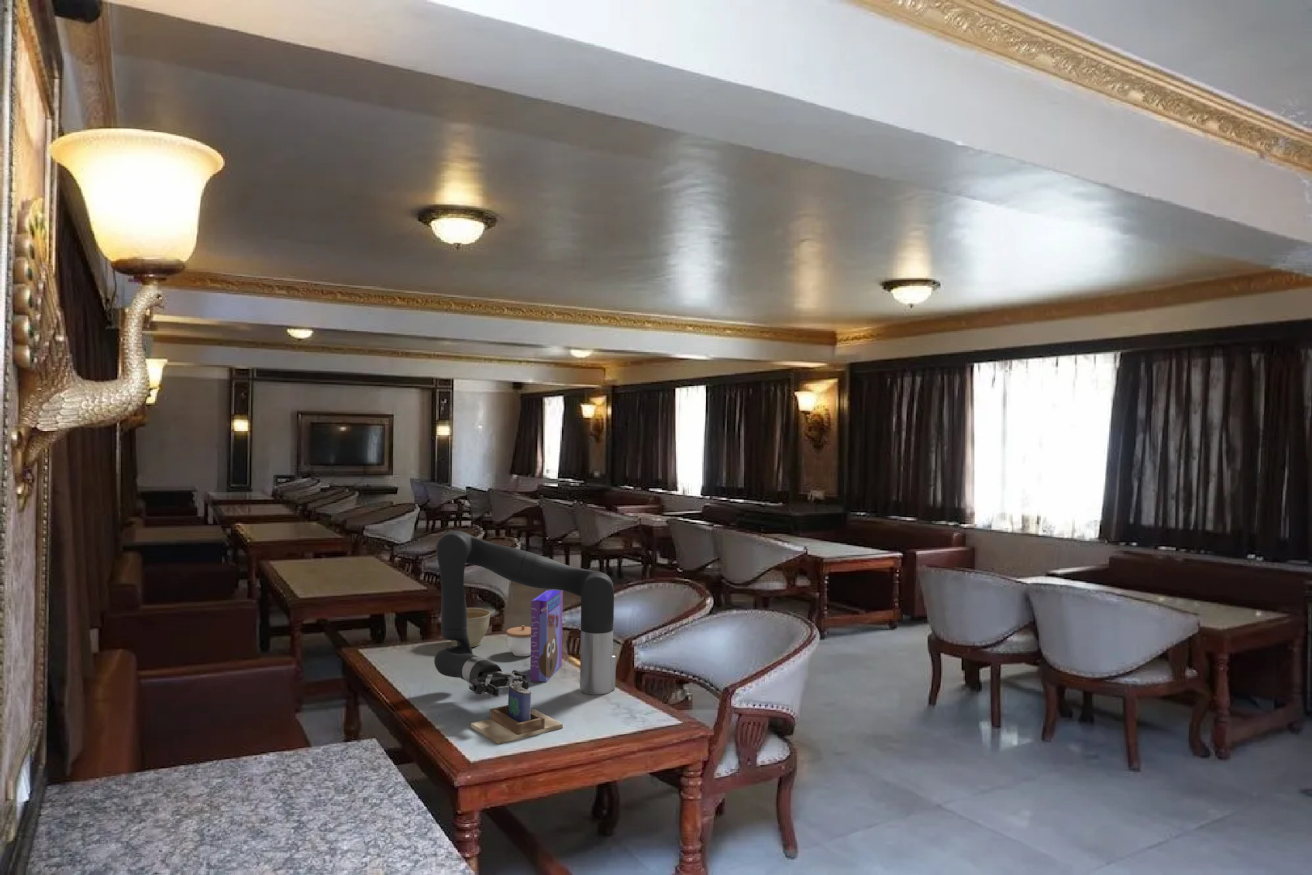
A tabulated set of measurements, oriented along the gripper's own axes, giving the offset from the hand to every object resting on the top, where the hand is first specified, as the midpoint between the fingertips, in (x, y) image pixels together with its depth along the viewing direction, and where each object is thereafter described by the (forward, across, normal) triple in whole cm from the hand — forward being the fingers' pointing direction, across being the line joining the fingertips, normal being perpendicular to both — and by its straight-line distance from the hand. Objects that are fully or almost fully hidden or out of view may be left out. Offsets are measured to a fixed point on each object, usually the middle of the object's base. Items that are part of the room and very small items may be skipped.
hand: (512, 689), depth 215 cm
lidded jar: (-55, +35, +9) cm, 66 cm away
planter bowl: (-76, +26, +9) cm, 81 cm away
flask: (+3, 0, +8) cm, 9 cm away
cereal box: (-32, +30, +9) cm, 45 cm away
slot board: (+3, 0, +9) cm, 9 cm away
